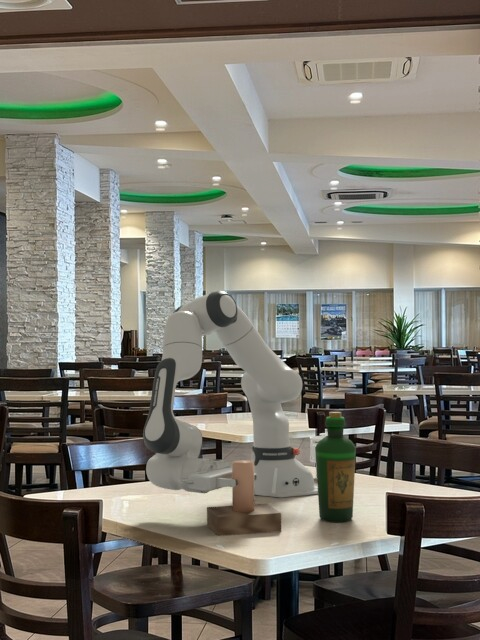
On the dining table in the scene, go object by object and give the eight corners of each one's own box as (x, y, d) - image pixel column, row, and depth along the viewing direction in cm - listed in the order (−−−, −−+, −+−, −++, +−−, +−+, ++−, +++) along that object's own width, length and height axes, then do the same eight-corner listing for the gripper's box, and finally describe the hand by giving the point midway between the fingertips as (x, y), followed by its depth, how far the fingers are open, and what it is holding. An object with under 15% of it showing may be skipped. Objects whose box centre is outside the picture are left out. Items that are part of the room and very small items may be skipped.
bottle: (346, 525, 206) (345, 414, 206) (308, 520, 211) (307, 413, 212) (363, 517, 215) (362, 411, 215) (326, 513, 220) (325, 410, 221)
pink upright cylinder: (250, 507, 207) (250, 459, 207) (257, 511, 201) (256, 462, 202) (230, 508, 205) (229, 460, 206) (235, 512, 200) (235, 463, 200)
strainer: (334, 477, 279) (333, 433, 279) (325, 480, 273) (325, 435, 273) (315, 475, 282) (315, 432, 283) (306, 478, 276) (306, 434, 277)
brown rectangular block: (267, 521, 211) (266, 503, 211) (281, 531, 200) (281, 512, 200) (207, 524, 207) (207, 507, 207) (218, 535, 195) (217, 516, 195)
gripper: (176, 468, 202) (223, 473, 194) (222, 458, 219) (266, 462, 212) (177, 494, 202) (223, 499, 194) (222, 482, 219) (266, 486, 212)
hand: (246, 480), depth 203 cm, fingers open, 8 cm apart
